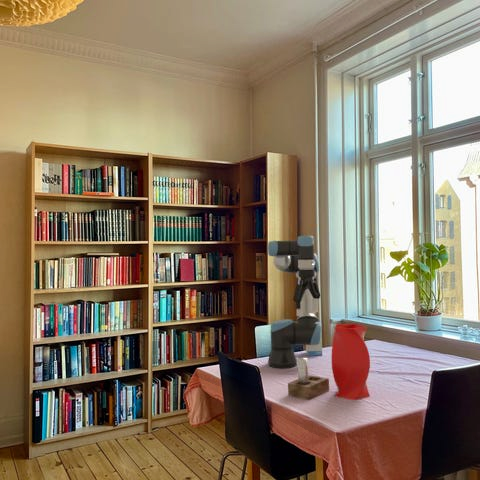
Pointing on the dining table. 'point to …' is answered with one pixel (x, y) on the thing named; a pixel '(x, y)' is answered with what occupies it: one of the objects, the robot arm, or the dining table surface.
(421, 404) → the dining table surface
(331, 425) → the dining table surface
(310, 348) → the ink box
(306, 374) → the pin
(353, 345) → the vase
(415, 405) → the dining table surface
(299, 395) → the block
